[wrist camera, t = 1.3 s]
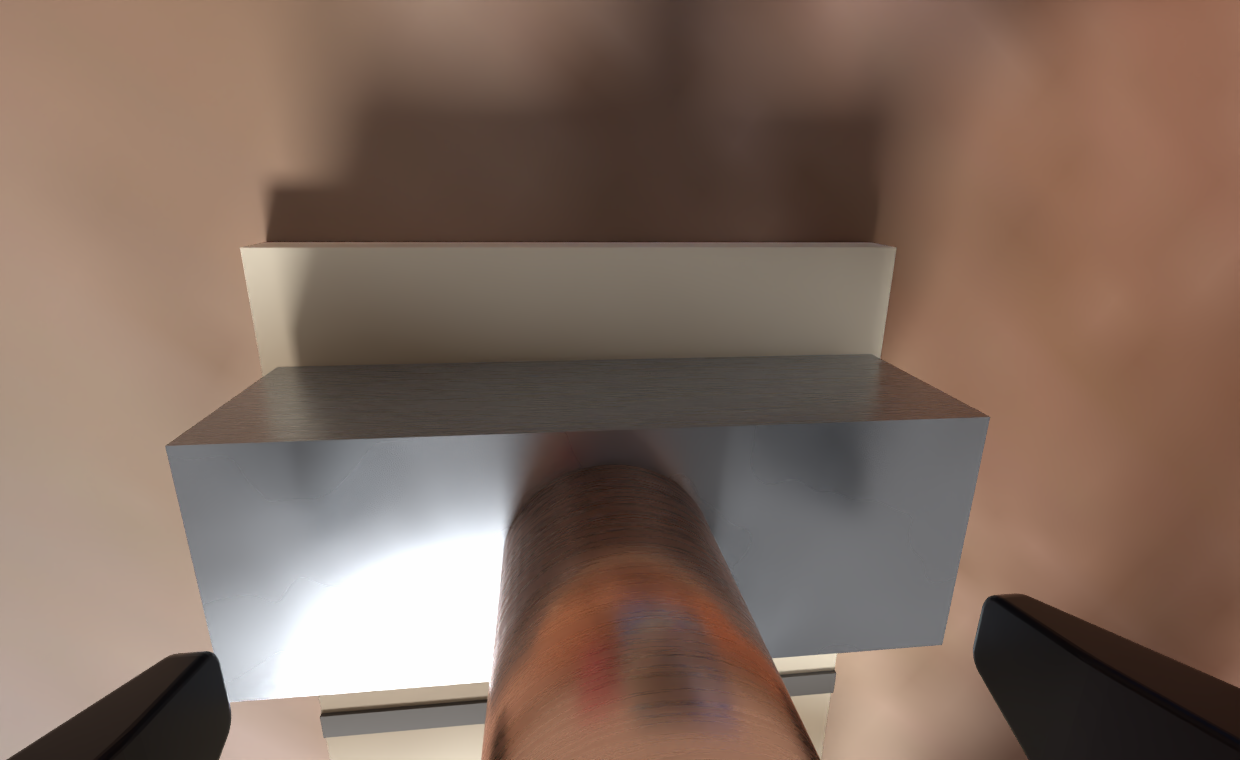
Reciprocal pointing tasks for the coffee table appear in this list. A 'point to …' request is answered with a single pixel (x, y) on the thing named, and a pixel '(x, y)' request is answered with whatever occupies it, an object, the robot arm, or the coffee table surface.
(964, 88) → the coffee table surface
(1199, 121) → the coffee table surface
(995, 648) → the robot arm
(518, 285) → the press base
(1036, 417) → the coffee table surface
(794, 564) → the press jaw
